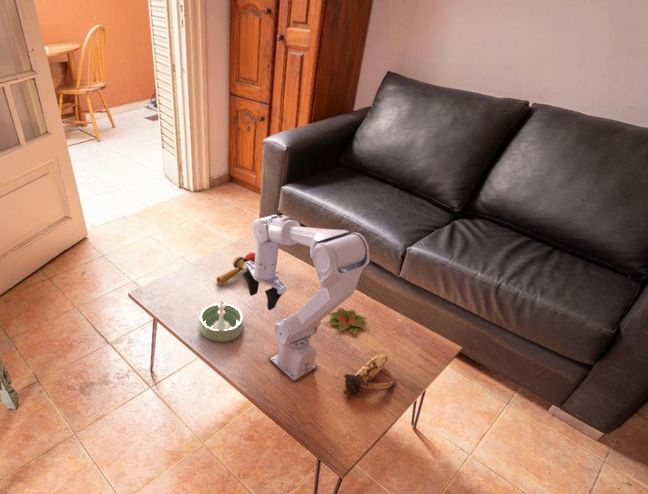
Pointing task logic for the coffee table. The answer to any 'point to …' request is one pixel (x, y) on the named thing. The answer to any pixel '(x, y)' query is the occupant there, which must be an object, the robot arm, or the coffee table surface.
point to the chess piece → (221, 318)
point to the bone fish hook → (366, 377)
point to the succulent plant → (347, 320)
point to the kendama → (236, 268)
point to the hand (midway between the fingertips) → (262, 301)
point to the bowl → (211, 316)
